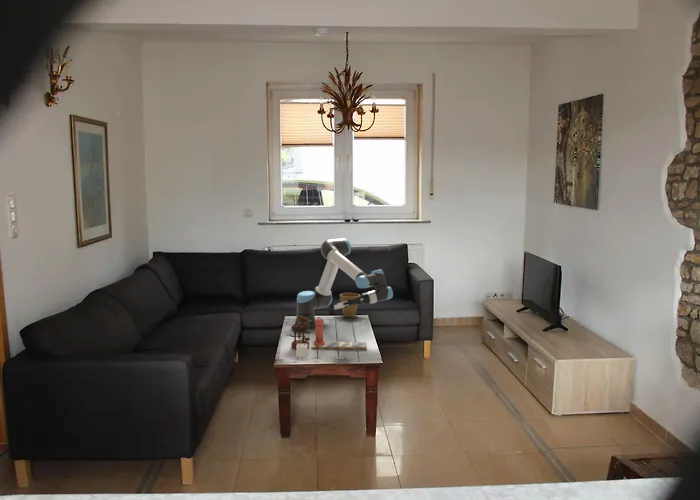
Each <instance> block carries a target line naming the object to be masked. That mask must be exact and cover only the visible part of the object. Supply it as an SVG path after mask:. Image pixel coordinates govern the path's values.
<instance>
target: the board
mask: <svg viewBox="0 0 700 500" xmlns="http://www.w3.org/2000/svg"><path fill="white" fill-rule="evenodd" d="M311 342H312V343H311V346H310V349H311V350H312V351H314V350H316V351H317V350H318V351H319V350H321V351H323V350H324V351H330V350H331V351H367V349H368V348H367V347H368V346H367V341H366V342H365V341H364V342H363V341H362V342H361V341H325V345H323V346H316V345H314V341H311Z"/></svg>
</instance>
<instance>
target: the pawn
mask: <svg viewBox="0 0 700 500" xmlns="http://www.w3.org/2000/svg"><path fill="white" fill-rule="evenodd" d="M315 320H316V321H315V324H316V327H315V340H313V342H314V345H316V346H323V345H325V342H326V341H325V340H324V325H325V324H324V322H325V321H324V319H323V318H321V317H318V318H315Z"/></svg>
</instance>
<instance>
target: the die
mask: <svg viewBox="0 0 700 500" xmlns="http://www.w3.org/2000/svg"><path fill="white" fill-rule="evenodd" d="M295 351H296V353H295V355H296V357H297V358H307V357H308V344H297V346H296V350H295Z"/></svg>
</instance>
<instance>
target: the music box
mask: <svg viewBox="0 0 700 500" xmlns="http://www.w3.org/2000/svg"><path fill="white" fill-rule="evenodd" d="M298 318H299V320H301V321H303V322H305V324H300V322H299V323H298V324H294V323H293V324H292V326H291V327H290V328H291V332H293V333H294V335H292V334H291V333H290V334H286V336H290V338H293V339H294V340H293V341H291V344H290V345H291V350H293V351H296V346H297V344H308V349H309V348H310V342H309V341H310V340H311V338H310V337H309V334H311V331H310V330H308V329H307V326H306V322H308V321H310V322H311V321H312V320H309V319H307V318H305V317H302V316H299V317H298ZM301 333H302V335H301ZM297 334H298V335H297ZM306 334H308V335H307V337H306Z"/></svg>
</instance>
